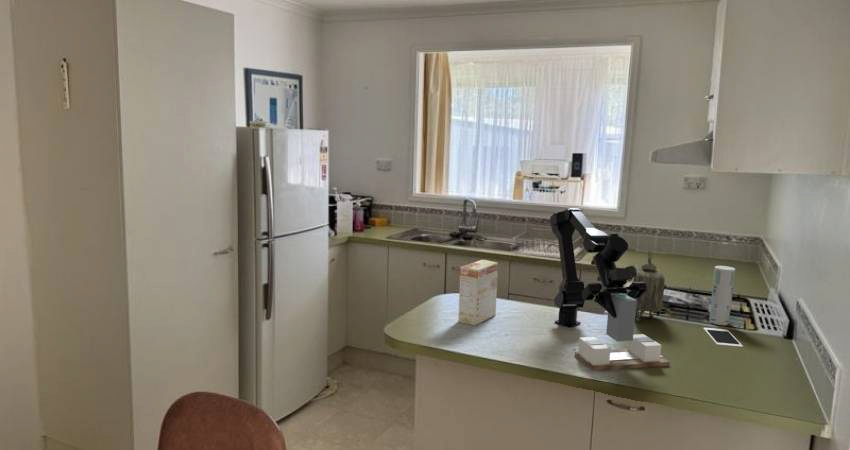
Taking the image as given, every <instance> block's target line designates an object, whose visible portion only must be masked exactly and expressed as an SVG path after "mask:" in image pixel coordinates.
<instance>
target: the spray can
mask: <svg viewBox="0 0 850 450" xmlns="http://www.w3.org/2000/svg"><path fill="white" fill-rule="evenodd" d="M735 277H736V268H735V267H733V266H728V265H727V266H726V265H715V266H714V271H713V281H712V289H711V290H712V292H711V300H710V308H709V309H710V310H709V317H708V319H709V320H708V321H709V323H711V324H714V325H719V326H727V325H729V322H730V315H731V307H732V301H733V291H734V283H735Z"/></svg>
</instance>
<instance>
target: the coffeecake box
mask: <svg viewBox="0 0 850 450" xmlns="http://www.w3.org/2000/svg"><path fill="white" fill-rule="evenodd" d="M459 268H460V269H459V292H458V293H459V298H458V320H457V321H458V323H463V324H467V325H470V326H477V325H478V324H481V323H483V322H485V321H487V320H488V319H490V318H493V317H494V316H496V314H497V313H496V312H497V293H498V291H497V289H498V275H499V274H498V272H499V271H498V270H499V269H498V268H499V262H497V261H491V260H488V259H480V260H478V261H474V262H472V263H468V264H465V265H462V266H459Z"/></svg>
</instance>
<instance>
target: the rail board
mask: <svg viewBox="0 0 850 450" xmlns="http://www.w3.org/2000/svg"><path fill="white" fill-rule="evenodd" d="M574 356H575V357H576V358H577V360H579V361H580V362H582V364H584V365H585V366H586V367H588V368H589V369H590V370H591V371H592V370H593V371H594V372H596V371H611V370H613V371H614V370H626V369H628V370H629V369H642V368H654V367H655V368H656V367H670V364H671V361H669V360H667V359H666V358H664V356H663V355H661V354H660V361H652V362H644V361H642V360H641V359H640V358H639V357H638V356H636V355H635V354H633V353H632V352H629V351H628V350H627V348H621V349H618V348H617V349H611V351H610V363H609V364H605V365H592V364H591V363H590V361H589V360H587V359H586V358H585V357H584V356H582V355H580V354H579V353H578V351H575V352H574Z"/></svg>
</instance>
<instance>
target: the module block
mask: <svg viewBox="0 0 850 450" xmlns="http://www.w3.org/2000/svg"><path fill="white" fill-rule="evenodd" d="M611 300H612V303H613V306H614V309H615V311H616V316H617V317H616V318H613V317H612V316H611V315H610V314H609V313H608V312H607V322H606V324H607V325H606V333H605V335H607V336H608V337H610V338H612V339H613V340H614V341H616V342H628V341H633V335H635V334H634V332H635V321H636V313H635V312H636V301H637V300H635V299H633V298H631V297H629V296H628V295H626V294H611Z"/></svg>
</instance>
